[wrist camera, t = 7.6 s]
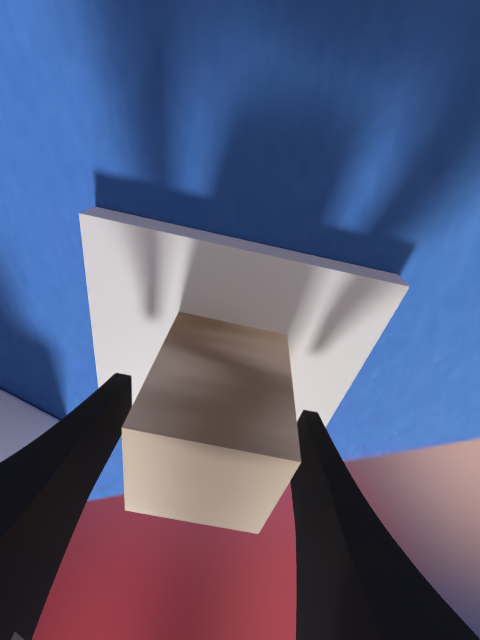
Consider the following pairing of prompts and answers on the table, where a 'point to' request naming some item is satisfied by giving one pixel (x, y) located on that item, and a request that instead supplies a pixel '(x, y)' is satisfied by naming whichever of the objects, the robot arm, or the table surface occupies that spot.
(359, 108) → the table surface
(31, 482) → the robot arm
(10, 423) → the medicine bottle
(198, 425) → the maple block
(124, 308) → the white board
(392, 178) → the table surface
